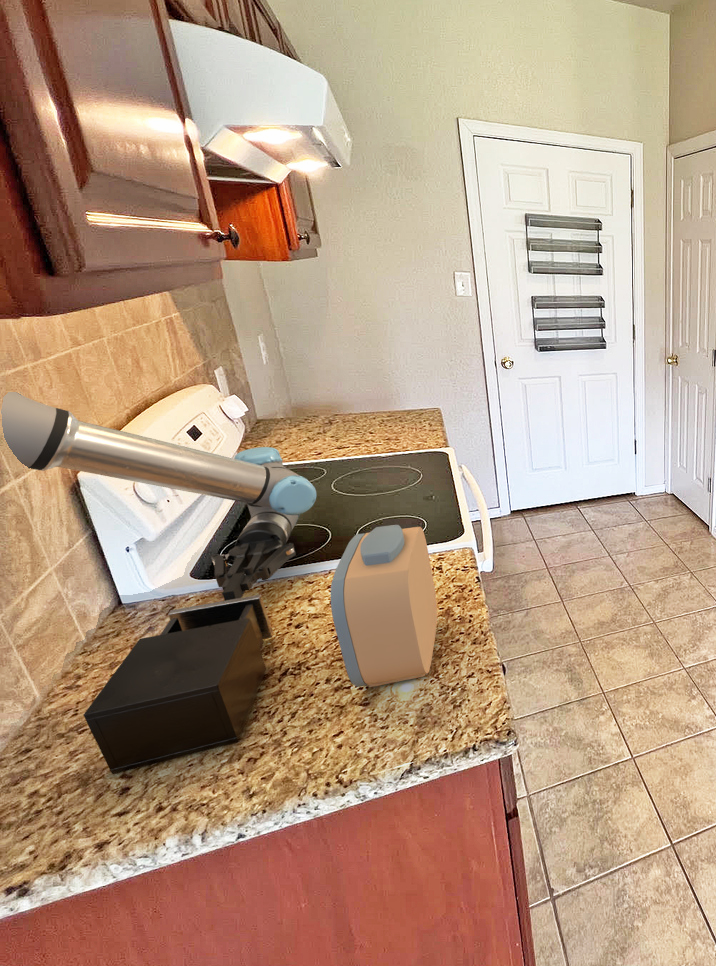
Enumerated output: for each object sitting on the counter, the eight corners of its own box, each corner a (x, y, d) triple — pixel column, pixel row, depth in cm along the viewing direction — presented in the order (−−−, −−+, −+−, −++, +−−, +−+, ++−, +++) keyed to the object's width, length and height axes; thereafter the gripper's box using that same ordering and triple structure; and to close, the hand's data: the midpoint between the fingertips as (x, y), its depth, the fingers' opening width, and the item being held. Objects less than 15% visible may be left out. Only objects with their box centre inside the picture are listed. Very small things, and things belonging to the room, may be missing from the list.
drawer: (195, 635, 95) (181, 595, 92) (279, 619, 99) (267, 581, 96) (148, 713, 79) (129, 668, 76) (250, 690, 83) (235, 646, 81)
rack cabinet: (161, 692, 84) (139, 638, 80) (266, 669, 89) (250, 617, 85) (112, 775, 71) (82, 714, 67) (238, 742, 76) (217, 684, 72)
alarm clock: (380, 626, 99) (354, 515, 92) (440, 616, 103) (420, 508, 95) (355, 710, 82) (320, 580, 74) (428, 694, 85) (402, 568, 77)
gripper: (307, 548, 119) (283, 608, 99) (229, 560, 114) (187, 627, 94) (298, 516, 116) (271, 571, 96) (217, 527, 111) (172, 588, 91)
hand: (230, 598), depth 95 cm, fingers closed
